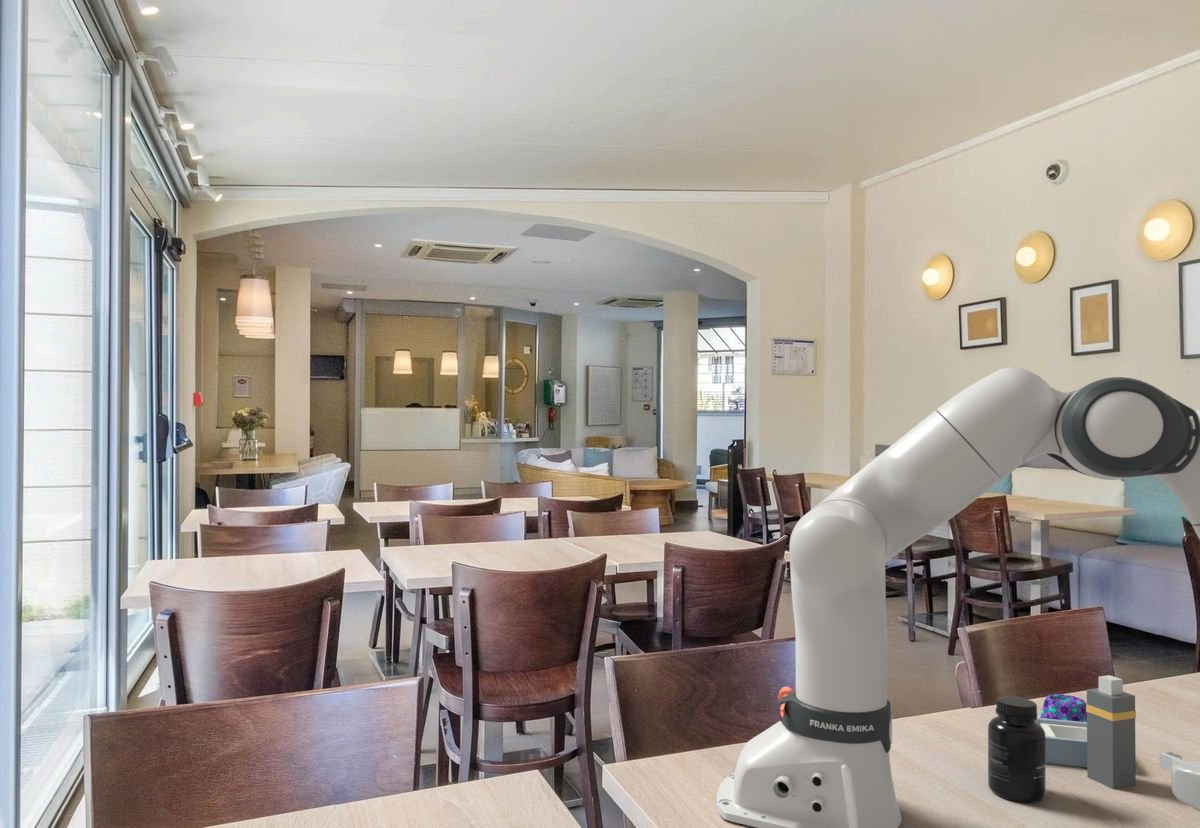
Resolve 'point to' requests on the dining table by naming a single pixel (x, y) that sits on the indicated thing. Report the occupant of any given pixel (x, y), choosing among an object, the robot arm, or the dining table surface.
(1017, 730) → the supplement bottle
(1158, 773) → the dining table surface
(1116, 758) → the grey bottle
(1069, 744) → the walled box
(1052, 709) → the pudding
